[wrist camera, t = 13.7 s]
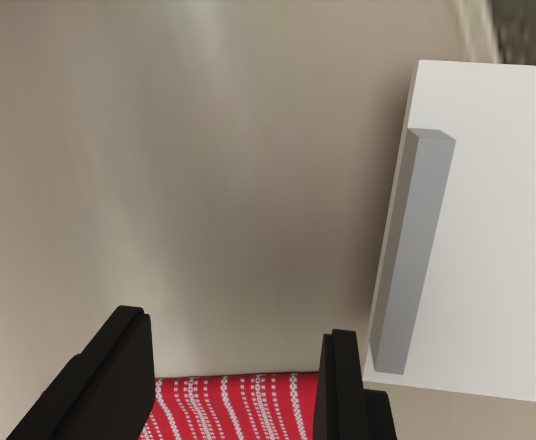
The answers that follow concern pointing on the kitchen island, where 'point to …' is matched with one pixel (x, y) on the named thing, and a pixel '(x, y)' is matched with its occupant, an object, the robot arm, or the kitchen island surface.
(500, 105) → the lid
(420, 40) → the kitchen island surface
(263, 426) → the dish towel
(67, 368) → the robot arm
